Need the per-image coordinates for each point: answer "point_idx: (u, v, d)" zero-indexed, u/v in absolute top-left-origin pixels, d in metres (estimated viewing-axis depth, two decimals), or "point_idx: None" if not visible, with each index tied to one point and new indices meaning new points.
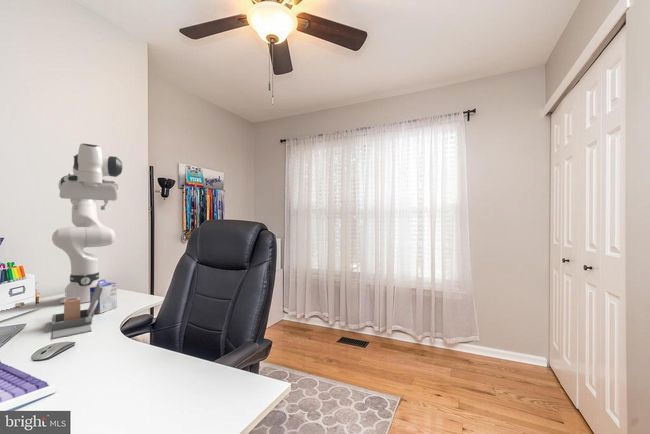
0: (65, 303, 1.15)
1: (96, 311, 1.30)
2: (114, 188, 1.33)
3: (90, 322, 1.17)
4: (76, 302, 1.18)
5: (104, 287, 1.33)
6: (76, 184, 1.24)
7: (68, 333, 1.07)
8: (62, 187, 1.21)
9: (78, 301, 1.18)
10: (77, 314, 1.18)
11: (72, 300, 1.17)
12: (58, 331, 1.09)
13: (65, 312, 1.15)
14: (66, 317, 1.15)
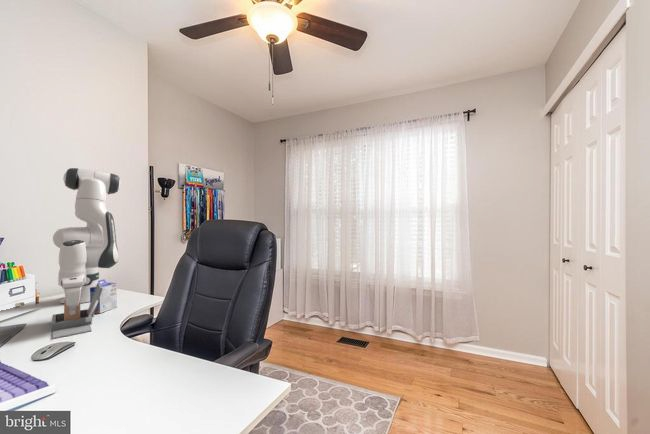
0: (65, 303, 1.15)
1: (96, 311, 1.30)
2: None
3: (90, 322, 1.17)
4: None
5: (104, 287, 1.33)
6: None
7: (68, 333, 1.07)
8: (80, 293, 1.13)
9: None
10: (77, 314, 1.18)
11: None
12: (58, 331, 1.09)
13: (65, 312, 1.15)
14: (66, 317, 1.15)
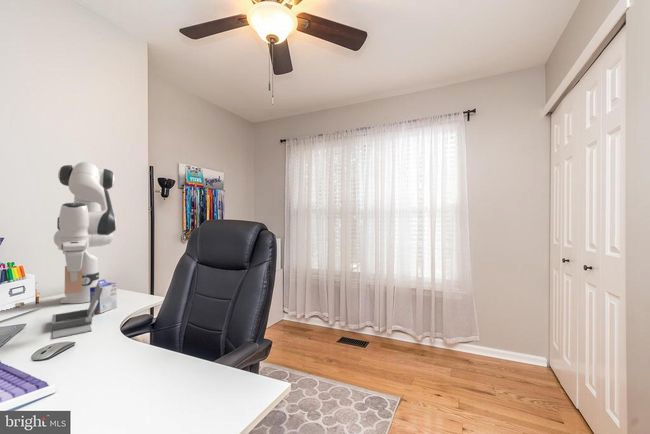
0: (66, 269, 1.07)
1: (96, 311, 1.30)
2: None
3: (90, 322, 1.17)
4: None
5: (104, 287, 1.33)
6: None
7: (68, 333, 1.07)
8: (82, 257, 1.05)
9: None
10: (79, 282, 1.09)
11: None
12: (58, 331, 1.09)
13: (66, 279, 1.07)
14: (67, 284, 1.07)
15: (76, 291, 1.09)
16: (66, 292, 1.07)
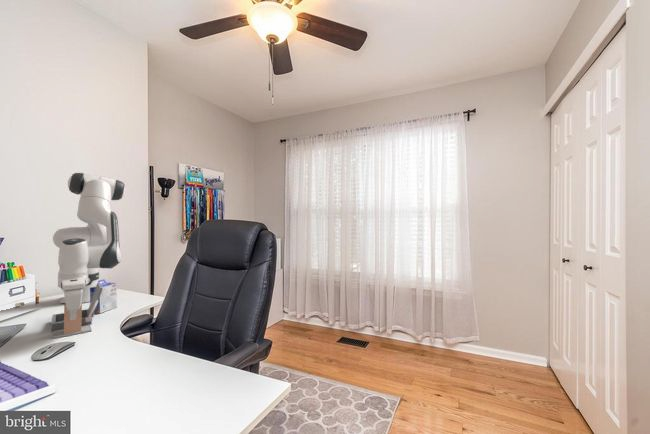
0: (65, 309, 1.07)
1: (96, 311, 1.30)
2: None
3: (90, 322, 1.17)
4: None
5: (104, 287, 1.33)
6: None
7: (68, 333, 1.07)
8: (82, 296, 1.05)
9: None
10: (79, 321, 1.09)
11: None
12: (58, 331, 1.09)
13: (65, 319, 1.07)
14: (66, 324, 1.07)
15: (75, 330, 1.09)
16: (65, 332, 1.07)
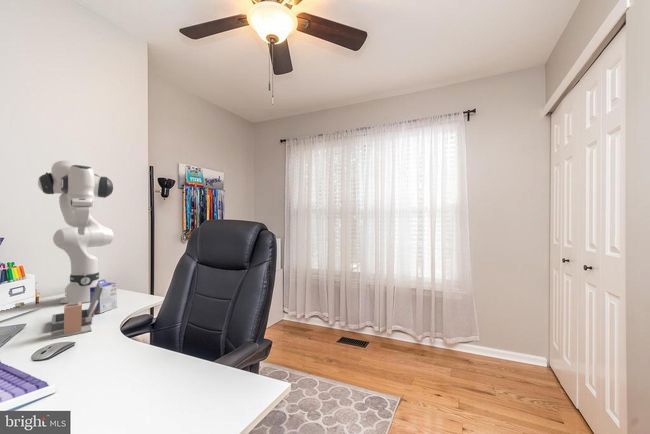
0: (65, 309, 1.07)
1: (96, 311, 1.30)
2: None
3: (90, 322, 1.17)
4: (78, 307, 1.09)
5: (104, 287, 1.33)
6: None
7: (68, 333, 1.07)
8: (89, 212, 1.17)
9: (79, 307, 1.09)
10: (79, 321, 1.09)
11: (73, 306, 1.08)
12: (58, 331, 1.09)
13: (65, 319, 1.07)
14: (66, 324, 1.07)
15: (75, 330, 1.09)
16: (65, 332, 1.07)
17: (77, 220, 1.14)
